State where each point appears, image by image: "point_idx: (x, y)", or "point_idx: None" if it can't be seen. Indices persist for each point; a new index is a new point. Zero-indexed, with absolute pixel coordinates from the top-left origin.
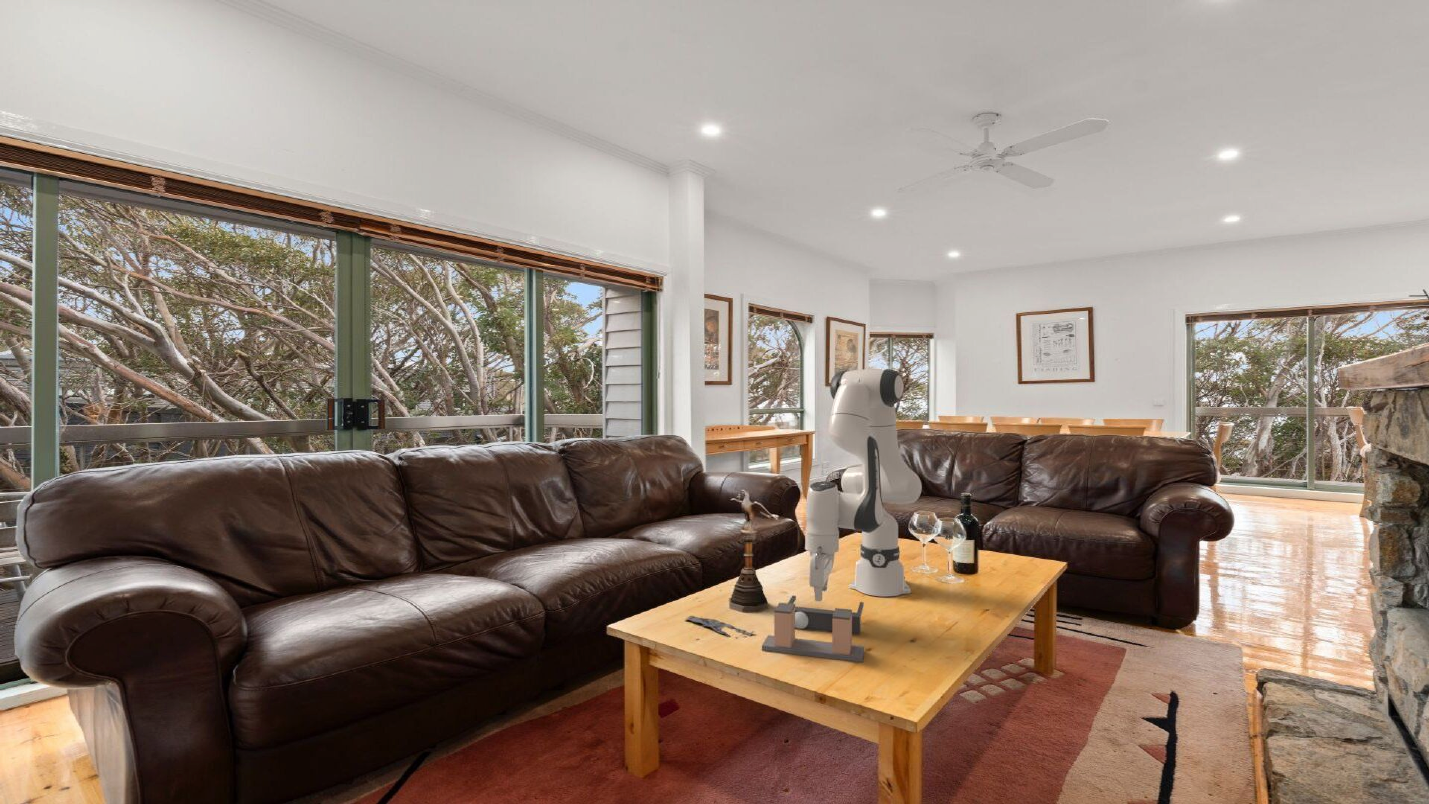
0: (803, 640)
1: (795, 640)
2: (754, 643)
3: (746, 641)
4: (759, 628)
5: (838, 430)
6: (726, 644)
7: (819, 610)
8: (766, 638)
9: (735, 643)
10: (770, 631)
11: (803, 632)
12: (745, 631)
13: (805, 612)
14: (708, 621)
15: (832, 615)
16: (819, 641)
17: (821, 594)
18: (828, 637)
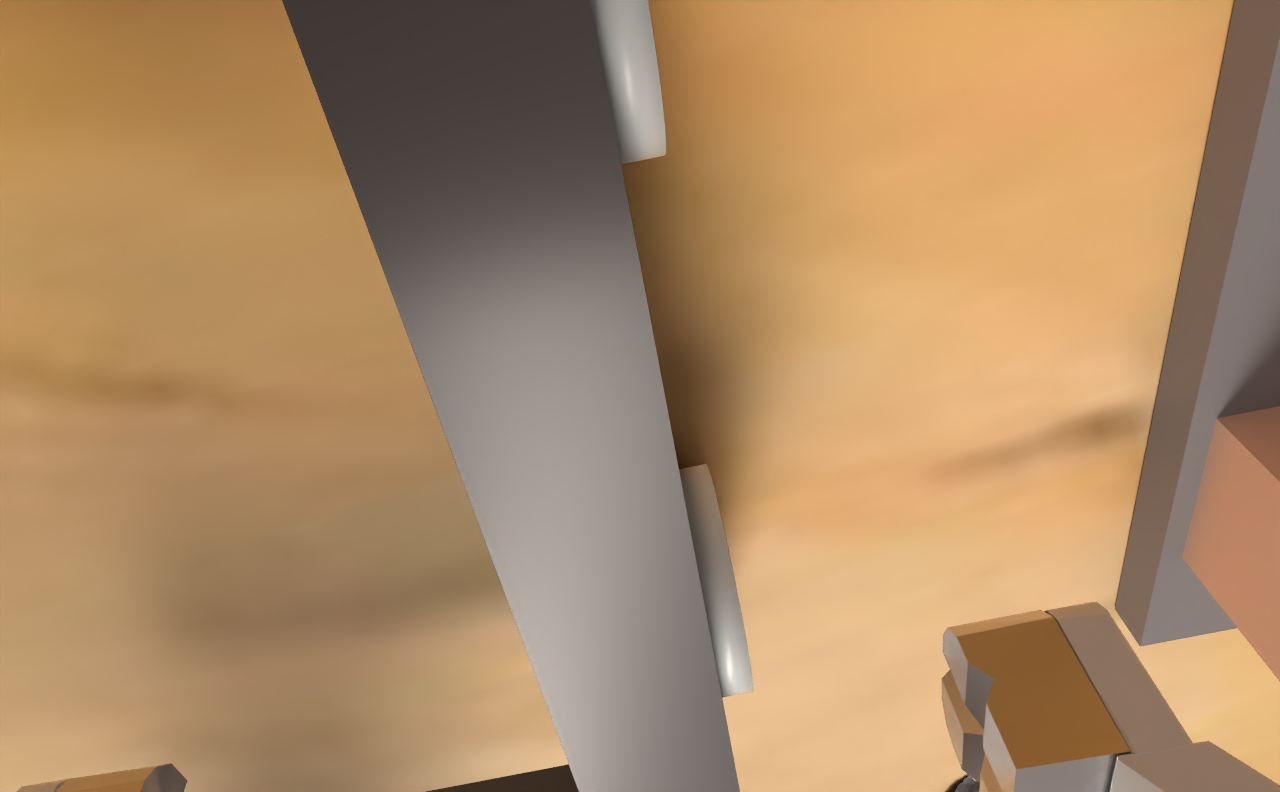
0: (1257, 322)
1: (1265, 398)
2: (1218, 652)
3: (1179, 706)
4: (842, 747)
5: None
6: (1263, 768)
7: (554, 499)
8: (1233, 626)
9: (1235, 739)
10: (884, 666)
11: (788, 430)
12: (965, 786)
13: (705, 616)
14: None
15: (632, 235)
16: (1274, 126)
17: (1218, 755)
18: (849, 98)
